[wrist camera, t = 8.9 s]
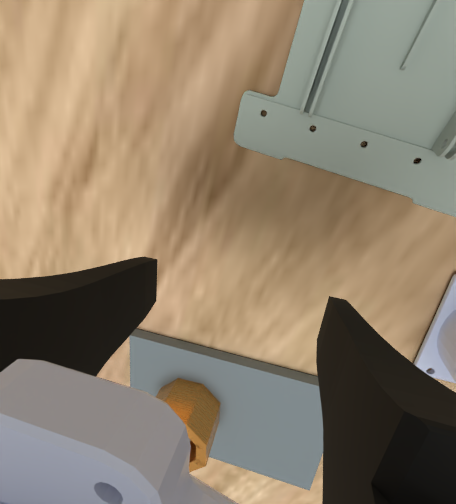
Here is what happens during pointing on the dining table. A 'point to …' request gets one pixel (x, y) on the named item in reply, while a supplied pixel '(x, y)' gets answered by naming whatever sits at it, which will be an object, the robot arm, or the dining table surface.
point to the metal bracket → (367, 97)
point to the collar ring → (194, 416)
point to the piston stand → (242, 404)
